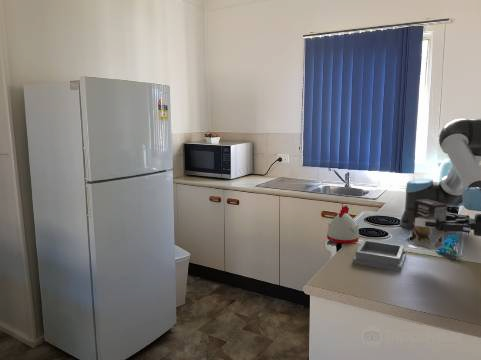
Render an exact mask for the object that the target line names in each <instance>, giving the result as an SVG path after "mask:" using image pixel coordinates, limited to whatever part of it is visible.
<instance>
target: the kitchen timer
mask: <svg viewBox="0 0 481 360" xmlns="http://www.w3.org/2000/svg"><path fill="white" fill-rule="evenodd" d="M349 210H350V208H349V207H348V205H344V206H341V209H340V212H338V214H337V215H335V216H334V217H333V219H332V220H331V222H328V228H327V229H328V230H327V233H326V238H327V240H328V241H330V242H333V243H337V244H343V245H344V244H345V245H346V244H354V243H357V242H359V241H358V239H359V238H360V233H359V230H360V229H359V225H358V224H357V223H356V221H355V220H354V218H353V217H352V216H351V215H350V214H349ZM359 240H360V239H359Z"/></svg>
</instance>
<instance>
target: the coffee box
mask: <svg viewBox="0 0 481 360" xmlns="http://www.w3.org/2000/svg"><path fill="white" fill-rule="evenodd" d="M447 211H448V206H447V204H444V203H440V202H436V201H433V200H429V199H420V200H415V205H414V218H413V229H412V230H411V231H412V234H411V243H413V244H416V245H418V246H421V247H423V248H425V249H427V250H436V249H438V248H443V242H444V238H445V232H446V231H438V229H436V228H429V227H421V226H415V218H421V219H430V220H436V219H438V220H439V221H446V213H447Z"/></svg>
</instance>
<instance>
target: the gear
mask: <svg viewBox="0 0 481 360" xmlns="http://www.w3.org/2000/svg"><path fill="white" fill-rule="evenodd" d="M458 242H459V236H458V235H456V234H452V235H451V234H449V235H448V236H447V237H446V236H444V242H443V248H438V249H435V251H436V250H439V251H438V252H439V253H440V254H442V253H443V254H446V252H448V253H449V254H450V255H453V256H454V257H455V258H457V257H458V255H457V254H456V253H457V251H456V250H455V248H454V247H456V246H457V243H458ZM455 243H456V244H455ZM438 252H437V253H438ZM439 253H438V254H439Z"/></svg>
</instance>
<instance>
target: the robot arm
mask: <svg viewBox="0 0 481 360" xmlns="http://www.w3.org/2000/svg"><path fill="white" fill-rule="evenodd" d="M438 144H439V147H440V148H441V151H442V152H443V153H445V154H447V156H448V158H449V160H450V162H451V165H452V167H451V168H450V171H449V172H448V174H447V175H445V176H444V177H442V178H441V180H440V181H433V179H432V178H415V179H411V180H409V181H407V183H406V188H405V203H404V204H405V205H404V206H405V207H404V211H403V213H402V215H401V218H400V221H399V222H400V223H399V225H400V226H401V227H403V228H406V229H409V230H413V218H414V205H415V200H420V199H429V200H433V201H436V202H440V203H444V204H447V207H451V208H452V207H453V208H454V207H462V206H463V207H464V208H465V209H466V210H468V211H476V212H481V166H480V163H481V118H480V117H479V118H458V119H457V118H456V119H454V120H452V121H449V122H448V123H447V124H446V125H444V127H443V128H441V131H440V133H439V136H438ZM415 226H421V227H429V228H436V229H438V231H445V232H453V233H455V232H458V233H467V234H469V233H471V231H473V235H474V236H477V237H481V213H475V215H474V218H472V217H471V218H470V215H469V214H468V215H467V214H460V213H452V212H447V213H446V221H439V220H438V219H436V220H430V219H421V218H415Z"/></svg>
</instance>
